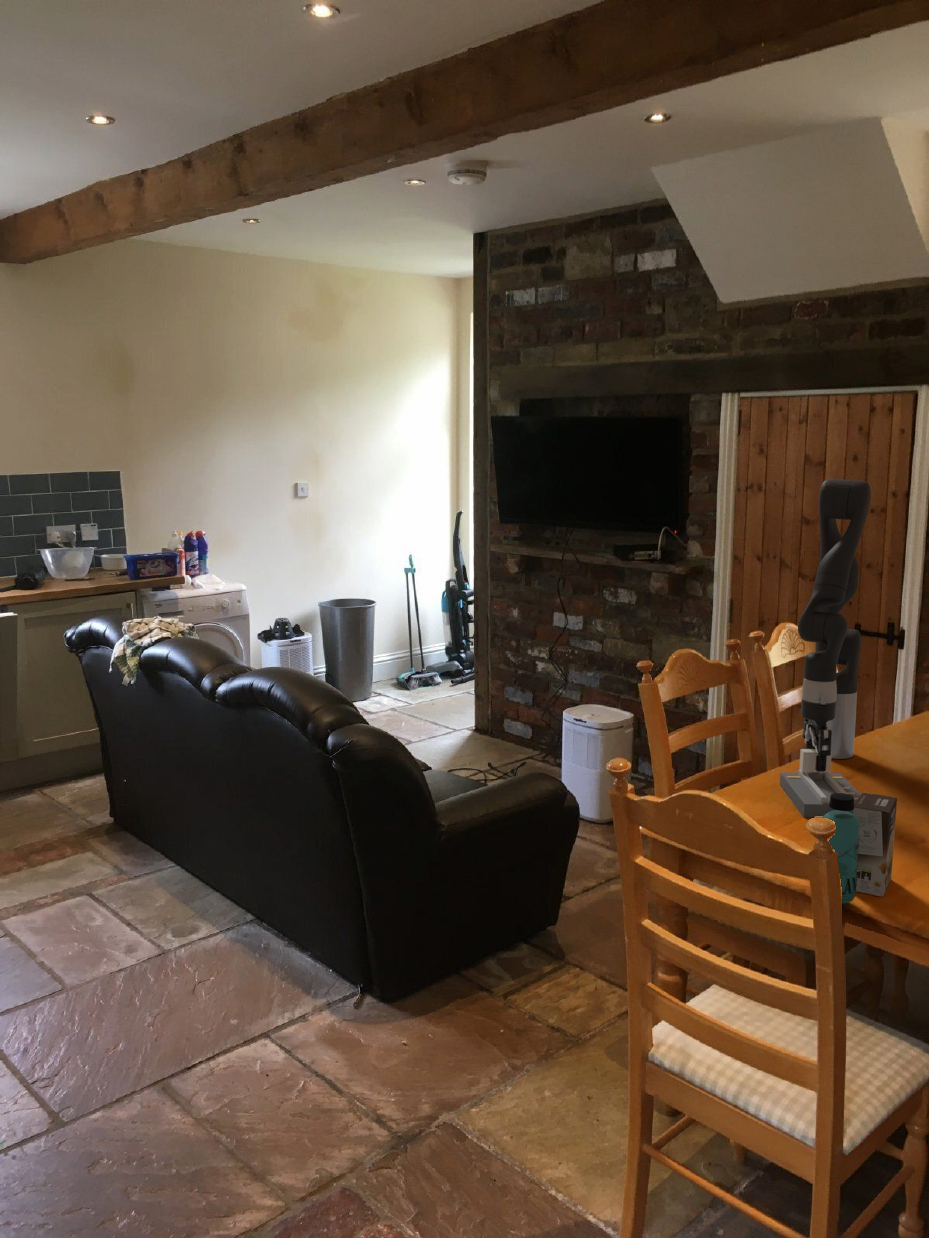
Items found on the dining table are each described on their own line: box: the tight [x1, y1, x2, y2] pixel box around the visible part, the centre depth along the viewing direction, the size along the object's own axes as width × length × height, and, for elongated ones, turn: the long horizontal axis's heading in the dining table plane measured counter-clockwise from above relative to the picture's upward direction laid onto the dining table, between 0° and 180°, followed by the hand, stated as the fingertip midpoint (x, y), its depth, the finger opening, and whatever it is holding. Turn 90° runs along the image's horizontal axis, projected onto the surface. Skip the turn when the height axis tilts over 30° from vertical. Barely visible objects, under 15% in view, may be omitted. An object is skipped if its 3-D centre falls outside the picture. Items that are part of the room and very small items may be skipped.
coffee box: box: [853, 792, 898, 897], centre depth 182 cm, size 9×6×16 cm
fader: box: [799, 748, 832, 780], centre depth 233 cm, size 3×6×6 cm, turn 87°
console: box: [779, 768, 862, 818], centre depth 226 cm, size 21×14×4 cm, turn 176°
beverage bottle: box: [821, 793, 860, 904], centre depth 175 cm, size 6×7×20 cm
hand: (815, 765), depth 233 cm, fingers open, 8 cm apart
